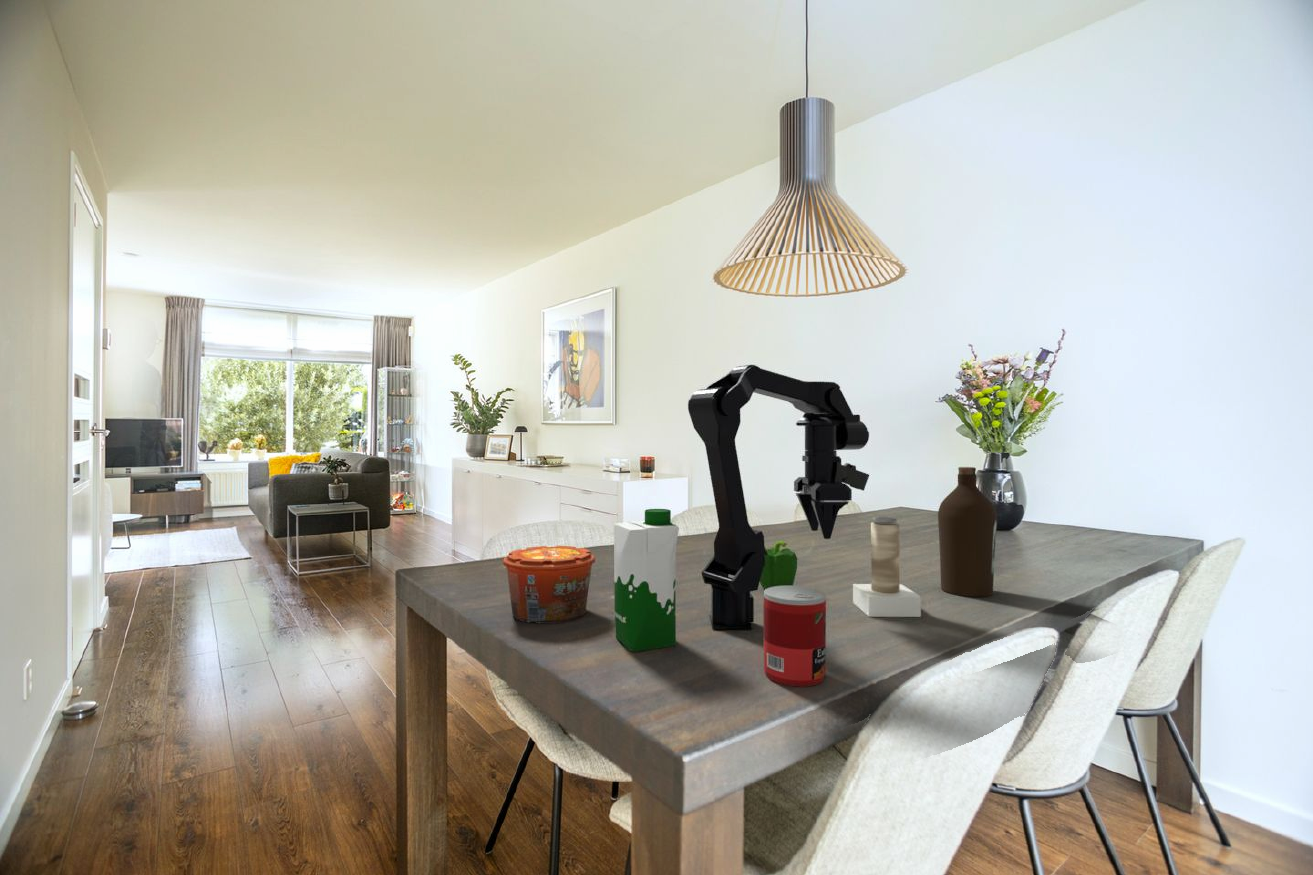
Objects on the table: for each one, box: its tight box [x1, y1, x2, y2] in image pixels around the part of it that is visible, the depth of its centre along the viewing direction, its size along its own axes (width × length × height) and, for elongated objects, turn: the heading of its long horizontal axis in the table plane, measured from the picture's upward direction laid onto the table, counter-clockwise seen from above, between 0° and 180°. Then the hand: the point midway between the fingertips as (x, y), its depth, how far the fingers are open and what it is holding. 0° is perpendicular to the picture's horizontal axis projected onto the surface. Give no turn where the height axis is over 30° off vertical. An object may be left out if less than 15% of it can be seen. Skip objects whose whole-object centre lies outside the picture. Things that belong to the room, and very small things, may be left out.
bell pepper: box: [759, 540, 798, 590], centre depth 128 cm, size 8×8×10 cm
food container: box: [502, 545, 596, 624], centre depth 110 cm, size 16×16×11 cm
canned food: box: [763, 585, 827, 688], centre depth 82 cm, size 8×8×11 cm
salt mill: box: [870, 516, 901, 593], centre depth 112 cm, size 5×5×13 cm
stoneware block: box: [852, 583, 922, 618], centre depth 112 cm, size 9×9×4 cm
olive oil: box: [937, 466, 998, 598], centre depth 125 cm, size 11×11×25 cm
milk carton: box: [613, 508, 680, 653], centre depth 95 cm, size 9×9×20 cm
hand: (820, 534), depth 115 cm, fingers open, 9 cm apart
